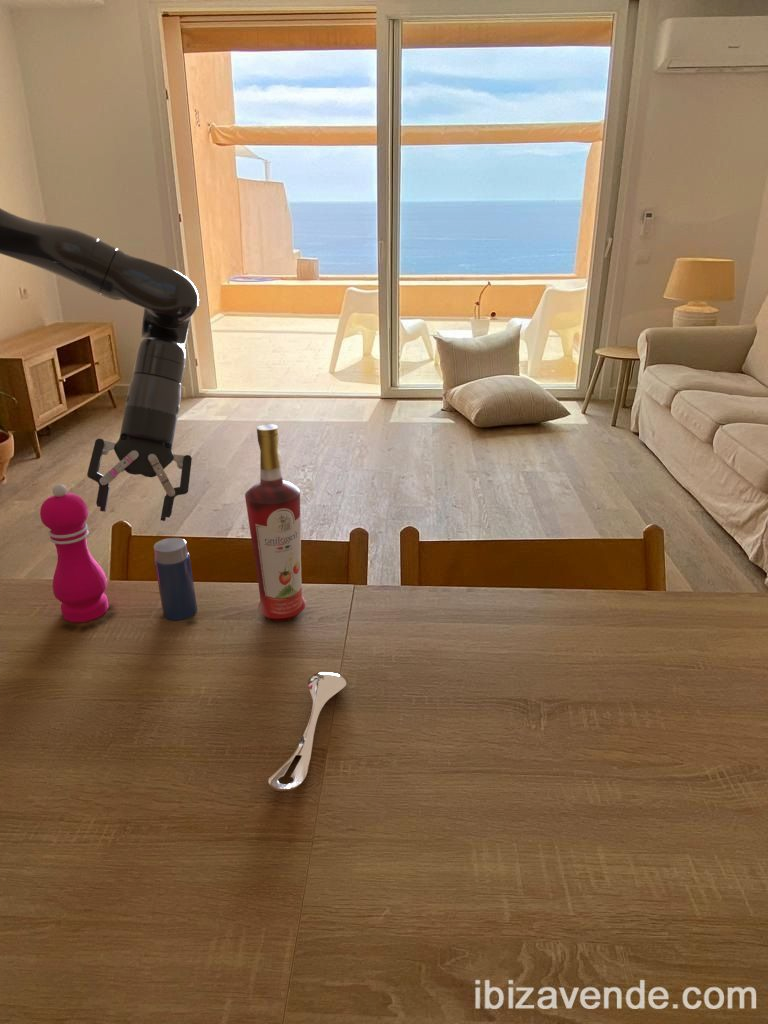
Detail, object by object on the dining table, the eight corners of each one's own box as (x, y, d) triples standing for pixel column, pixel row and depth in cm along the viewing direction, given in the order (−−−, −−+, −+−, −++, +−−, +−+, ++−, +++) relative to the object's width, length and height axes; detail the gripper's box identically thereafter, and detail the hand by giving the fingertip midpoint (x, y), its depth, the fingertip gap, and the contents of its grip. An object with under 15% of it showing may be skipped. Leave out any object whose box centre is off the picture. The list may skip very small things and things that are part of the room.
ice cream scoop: (300, 776, 67) (254, 769, 68) (302, 805, 68) (256, 798, 69) (352, 663, 85) (315, 658, 86) (352, 687, 86) (316, 683, 87)
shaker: (158, 620, 99) (147, 552, 95) (169, 602, 103) (158, 536, 99) (191, 621, 99) (181, 552, 94) (201, 603, 103) (191, 536, 99)
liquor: (299, 595, 105) (286, 416, 93) (314, 619, 99) (303, 431, 87) (251, 606, 102) (232, 423, 91) (264, 631, 96) (245, 439, 85)
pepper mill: (117, 614, 101) (92, 486, 93) (65, 630, 97) (34, 499, 89) (105, 593, 106) (80, 471, 98) (54, 608, 103) (24, 482, 94)
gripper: (199, 421, 109) (181, 522, 109) (103, 401, 105) (84, 507, 105) (202, 416, 102) (182, 525, 102) (99, 395, 98) (79, 508, 98)
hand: (133, 515), depth 103 cm, fingers open, 8 cm apart
